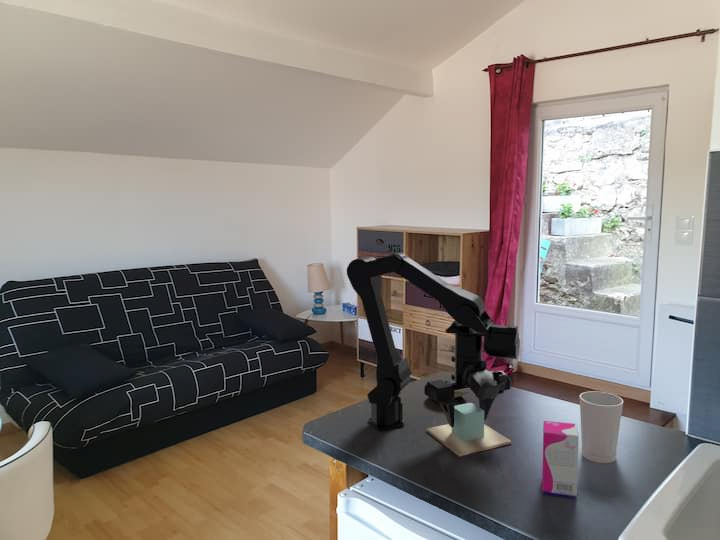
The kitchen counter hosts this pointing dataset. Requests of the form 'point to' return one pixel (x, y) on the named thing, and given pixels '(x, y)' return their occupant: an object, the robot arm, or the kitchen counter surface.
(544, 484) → the supplement box
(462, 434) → the teal block
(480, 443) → the pad
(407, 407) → the kitchen counter surface
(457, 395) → the lid
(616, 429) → the cup
